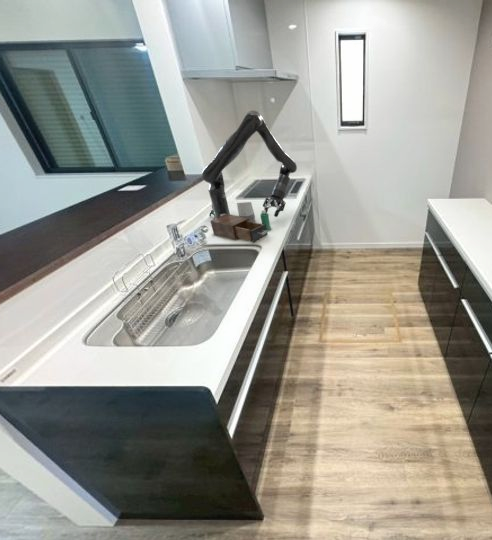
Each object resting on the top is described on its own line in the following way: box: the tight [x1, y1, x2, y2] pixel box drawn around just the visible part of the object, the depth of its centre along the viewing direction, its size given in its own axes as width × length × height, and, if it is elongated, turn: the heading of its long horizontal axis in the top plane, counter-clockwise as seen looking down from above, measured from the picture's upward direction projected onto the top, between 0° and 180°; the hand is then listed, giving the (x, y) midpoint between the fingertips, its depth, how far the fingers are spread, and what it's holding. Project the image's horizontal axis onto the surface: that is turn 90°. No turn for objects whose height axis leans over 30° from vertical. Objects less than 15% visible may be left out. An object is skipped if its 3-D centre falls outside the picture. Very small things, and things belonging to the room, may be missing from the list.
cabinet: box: [210, 213, 249, 241], centre depth 171 cm, size 18×13×9 cm
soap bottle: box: [260, 209, 271, 232], centre depth 174 cm, size 4×4×12 cm
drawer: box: [234, 221, 269, 244], centre depth 165 cm, size 20×11×7 cm, turn 61°
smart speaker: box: [236, 201, 256, 222], centre depth 185 cm, size 10×9×14 cm
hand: (269, 215), depth 177 cm, fingers open, 8 cm apart
